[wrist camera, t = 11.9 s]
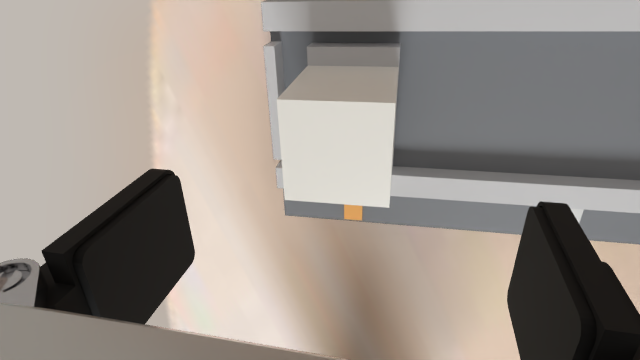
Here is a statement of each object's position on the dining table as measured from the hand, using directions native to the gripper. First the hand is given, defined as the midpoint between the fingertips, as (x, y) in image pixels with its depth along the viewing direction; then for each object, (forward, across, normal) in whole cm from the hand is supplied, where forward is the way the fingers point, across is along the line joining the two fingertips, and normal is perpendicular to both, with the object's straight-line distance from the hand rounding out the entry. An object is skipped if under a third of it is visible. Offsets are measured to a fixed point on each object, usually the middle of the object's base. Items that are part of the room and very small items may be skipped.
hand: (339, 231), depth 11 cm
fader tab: (+10, +1, 0) cm, 10 cm away
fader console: (+13, -5, 0) cm, 13 cm away
